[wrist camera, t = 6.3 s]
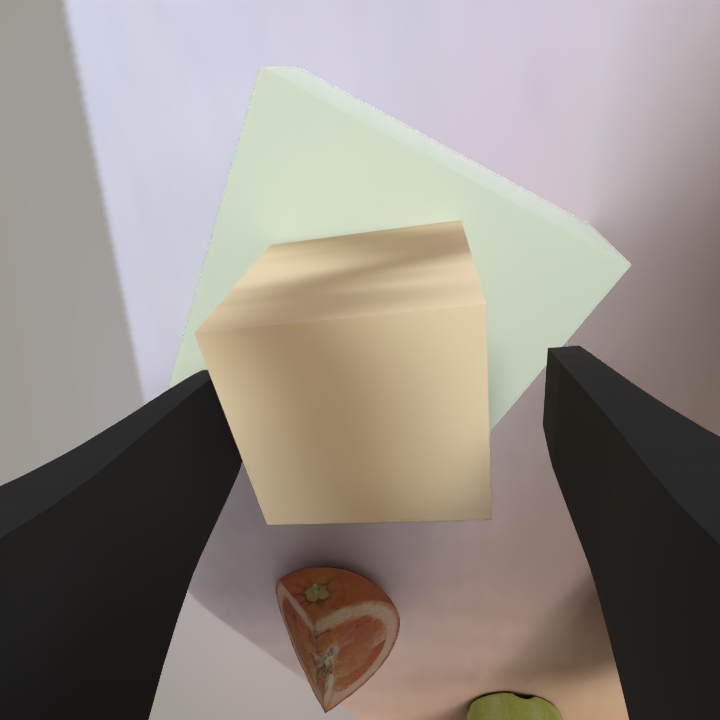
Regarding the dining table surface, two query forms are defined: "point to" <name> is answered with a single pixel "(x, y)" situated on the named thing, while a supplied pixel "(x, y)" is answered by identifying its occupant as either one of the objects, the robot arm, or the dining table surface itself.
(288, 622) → the fruit slice
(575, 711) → the dining table surface
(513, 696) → the plant pot
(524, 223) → the sage base block
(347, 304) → the maple cube
